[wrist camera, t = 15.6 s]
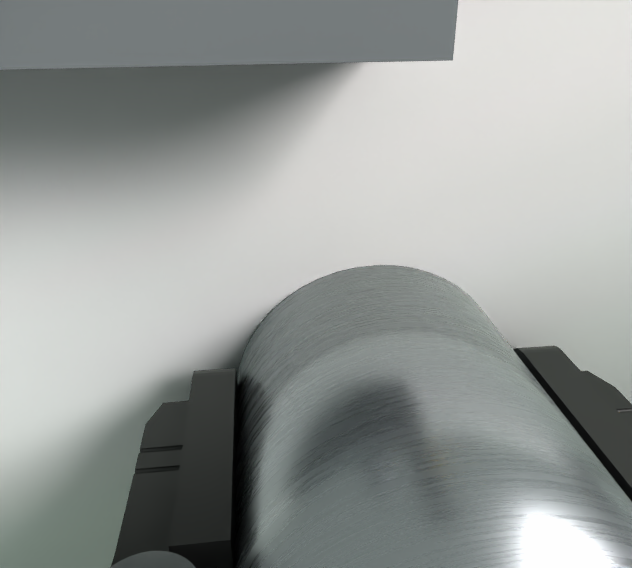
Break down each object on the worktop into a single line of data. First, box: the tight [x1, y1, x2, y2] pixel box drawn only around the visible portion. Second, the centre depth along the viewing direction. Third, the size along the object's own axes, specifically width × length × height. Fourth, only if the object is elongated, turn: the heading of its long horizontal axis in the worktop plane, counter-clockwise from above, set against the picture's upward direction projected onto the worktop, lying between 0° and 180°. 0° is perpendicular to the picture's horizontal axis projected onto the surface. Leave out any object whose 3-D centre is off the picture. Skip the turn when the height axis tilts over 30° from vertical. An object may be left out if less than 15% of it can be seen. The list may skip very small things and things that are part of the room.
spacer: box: [234, 265, 632, 568], centre depth 8 cm, size 5×5×6 cm
